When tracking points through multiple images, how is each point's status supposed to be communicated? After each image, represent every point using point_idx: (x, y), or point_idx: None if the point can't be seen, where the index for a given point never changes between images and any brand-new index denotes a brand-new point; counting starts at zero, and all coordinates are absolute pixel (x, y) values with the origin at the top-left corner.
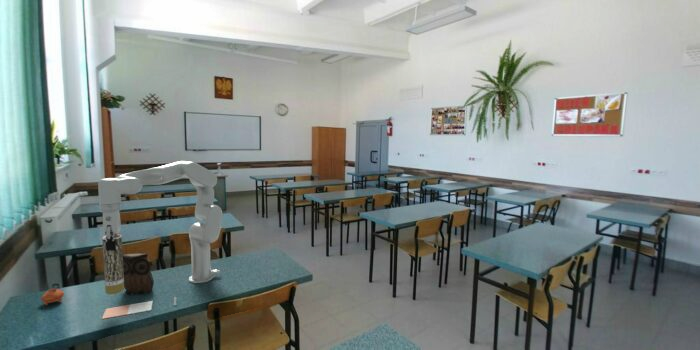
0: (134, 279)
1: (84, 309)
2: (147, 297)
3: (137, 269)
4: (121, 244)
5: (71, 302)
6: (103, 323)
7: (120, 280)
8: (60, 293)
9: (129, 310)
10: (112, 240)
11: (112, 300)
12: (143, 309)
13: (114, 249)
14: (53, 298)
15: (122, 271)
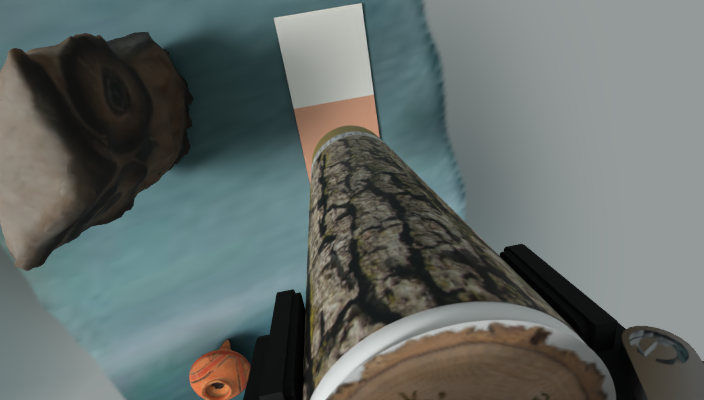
0: (166, 128)
1: (295, 252)
2: (228, 54)
3: (132, 119)
4: (424, 227)
5: (233, 310)
6: (414, 154)
7: (382, 141)
8: (220, 362)
9: (346, 94)
10: (673, 351)
11: (237, 190)
12: (350, 38)
13: (520, 251)
14: (245, 364)
15: (370, 144)
